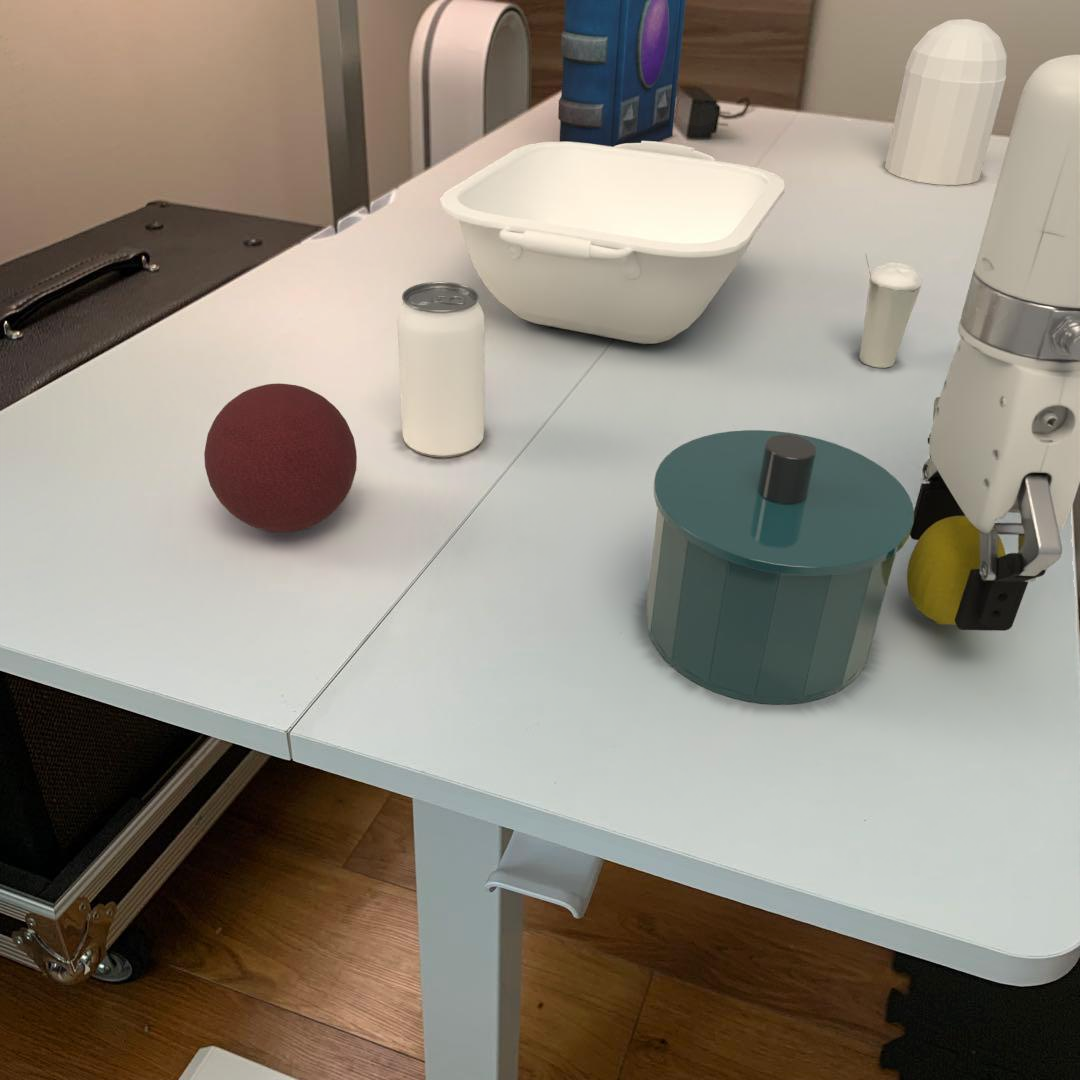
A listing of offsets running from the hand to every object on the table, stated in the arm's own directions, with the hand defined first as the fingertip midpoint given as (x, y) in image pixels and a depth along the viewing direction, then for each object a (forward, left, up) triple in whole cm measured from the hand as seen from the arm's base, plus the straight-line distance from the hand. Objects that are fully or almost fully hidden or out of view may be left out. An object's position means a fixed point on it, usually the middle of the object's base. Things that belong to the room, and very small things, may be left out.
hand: (956, 579), depth 66 cm
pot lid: (+12, +1, +6) cm, 14 cm away
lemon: (0, 0, -4) cm, 4 cm away
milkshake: (-6, -39, -4) cm, 40 cm away
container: (-32, -104, -4) cm, 109 cm away
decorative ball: (+43, -10, -4) cm, 44 cm away
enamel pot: (+12, +1, -3) cm, 13 cm away
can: (+33, -22, -4) cm, 40 cm away
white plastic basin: (+18, -49, -4) cm, 52 cm away
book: (+13, -111, -4) cm, 112 cm away
